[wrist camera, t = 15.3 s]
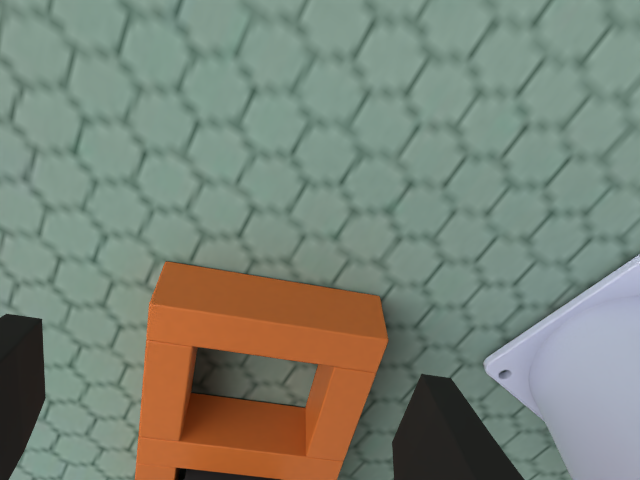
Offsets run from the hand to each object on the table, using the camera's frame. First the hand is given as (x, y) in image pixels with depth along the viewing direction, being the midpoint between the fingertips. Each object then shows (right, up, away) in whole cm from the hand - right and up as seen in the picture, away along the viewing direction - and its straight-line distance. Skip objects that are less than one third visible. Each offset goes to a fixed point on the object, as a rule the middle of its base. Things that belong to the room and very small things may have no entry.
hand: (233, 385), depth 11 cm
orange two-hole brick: (-2, -5, +14) cm, 15 cm away
